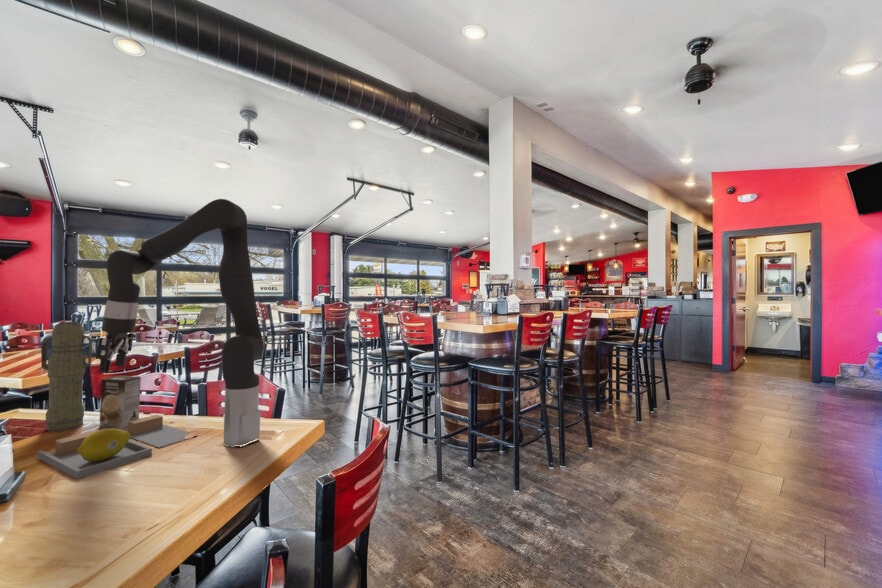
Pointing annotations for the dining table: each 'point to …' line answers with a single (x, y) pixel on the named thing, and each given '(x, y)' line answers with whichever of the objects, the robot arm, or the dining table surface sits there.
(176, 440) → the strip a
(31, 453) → the dining table surface
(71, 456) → the gray tray
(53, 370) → the thermos
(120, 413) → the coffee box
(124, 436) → the lemon
